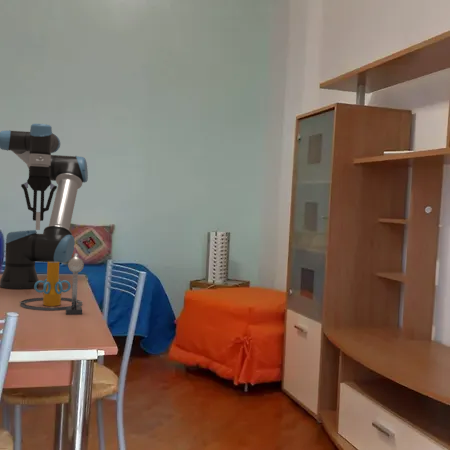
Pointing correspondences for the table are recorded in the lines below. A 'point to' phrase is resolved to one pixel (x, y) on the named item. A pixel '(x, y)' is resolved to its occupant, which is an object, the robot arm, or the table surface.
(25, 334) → the table surface
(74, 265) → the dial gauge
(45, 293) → the cylinder
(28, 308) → the centring ring
